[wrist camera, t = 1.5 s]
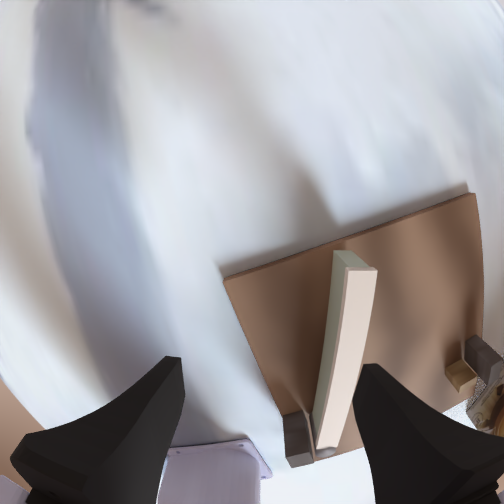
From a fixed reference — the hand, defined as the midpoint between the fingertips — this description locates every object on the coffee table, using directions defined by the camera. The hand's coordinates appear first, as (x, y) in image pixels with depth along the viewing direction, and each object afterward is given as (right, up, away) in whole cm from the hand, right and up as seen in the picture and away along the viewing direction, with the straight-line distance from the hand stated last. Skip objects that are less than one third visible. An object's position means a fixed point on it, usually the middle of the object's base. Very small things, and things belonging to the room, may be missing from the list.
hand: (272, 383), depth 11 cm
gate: (+5, -2, +9) cm, 11 cm away
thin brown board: (+10, -4, +11) cm, 15 cm away
